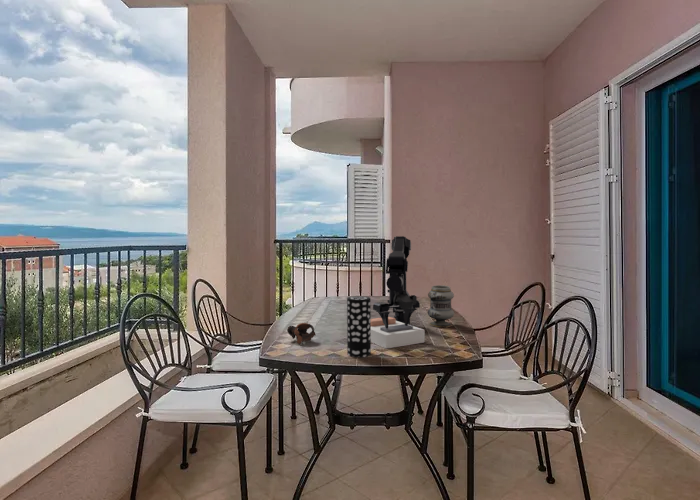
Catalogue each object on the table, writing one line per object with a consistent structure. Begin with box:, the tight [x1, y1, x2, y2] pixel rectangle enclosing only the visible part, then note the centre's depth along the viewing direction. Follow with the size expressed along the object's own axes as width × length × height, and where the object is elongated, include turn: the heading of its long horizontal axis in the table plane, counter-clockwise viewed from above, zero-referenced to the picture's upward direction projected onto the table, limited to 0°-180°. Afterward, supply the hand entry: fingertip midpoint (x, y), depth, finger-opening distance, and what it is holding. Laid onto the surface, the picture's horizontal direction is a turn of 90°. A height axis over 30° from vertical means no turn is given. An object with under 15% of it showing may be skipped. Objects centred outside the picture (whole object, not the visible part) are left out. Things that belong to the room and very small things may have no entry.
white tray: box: [371, 321, 425, 349], centre depth 174 cm, size 18×24×5 cm
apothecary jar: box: [427, 284, 455, 328], centre depth 198 cm, size 12×12×18 cm
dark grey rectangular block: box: [380, 324, 414, 333], centre depth 168 cm, size 12×5×4 cm, turn 118°
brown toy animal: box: [286, 322, 317, 345], centre depth 170 cm, size 12×10×8 cm
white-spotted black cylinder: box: [346, 295, 372, 358], centre depth 152 cm, size 8×8×20 cm
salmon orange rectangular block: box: [371, 316, 396, 326], centre depth 179 cm, size 12×5×4 cm, turn 118°
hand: (396, 326), depth 168 cm, fingers open, 9 cm apart
